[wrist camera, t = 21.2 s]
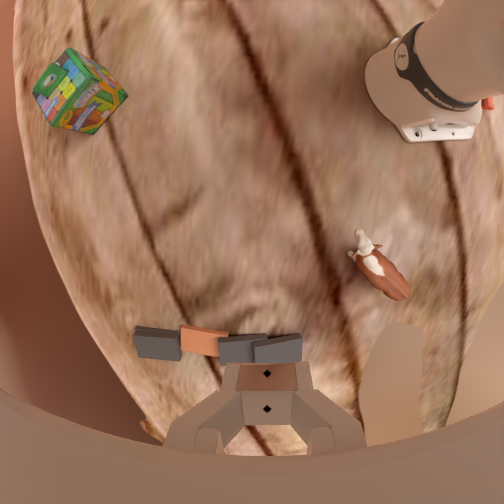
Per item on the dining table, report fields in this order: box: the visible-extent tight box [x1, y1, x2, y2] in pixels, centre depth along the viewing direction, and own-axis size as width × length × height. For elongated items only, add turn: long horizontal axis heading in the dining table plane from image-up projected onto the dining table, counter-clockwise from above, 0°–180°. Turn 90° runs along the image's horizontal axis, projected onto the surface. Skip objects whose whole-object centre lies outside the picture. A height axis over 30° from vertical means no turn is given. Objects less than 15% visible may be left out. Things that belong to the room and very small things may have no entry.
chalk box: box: [32, 48, 128, 135], centre depth 29 cm, size 9×9×15 cm
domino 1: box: [135, 326, 179, 337], centre depth 47 cm, size 2×5×8 cm
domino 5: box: [252, 333, 302, 363], centre depth 44 cm, size 2×5×8 cm
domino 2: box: [133, 331, 182, 361], centre depth 45 cm, size 2×5×8 cm
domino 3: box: [181, 325, 229, 357], centre depth 46 cm, size 2×5×8 cm
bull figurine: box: [347, 229, 409, 301], centre depth 37 cm, size 4×13×8 cm, turn 46°
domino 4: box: [218, 333, 268, 366], centre depth 45 cm, size 2×5×8 cm
